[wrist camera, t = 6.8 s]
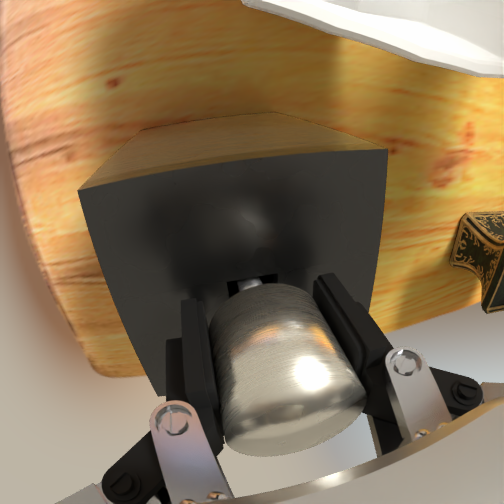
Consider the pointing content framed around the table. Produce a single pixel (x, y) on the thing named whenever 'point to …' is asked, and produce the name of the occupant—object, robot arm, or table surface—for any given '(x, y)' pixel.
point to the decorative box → (483, 255)
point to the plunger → (280, 371)
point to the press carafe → (231, 218)
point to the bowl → (410, 28)
